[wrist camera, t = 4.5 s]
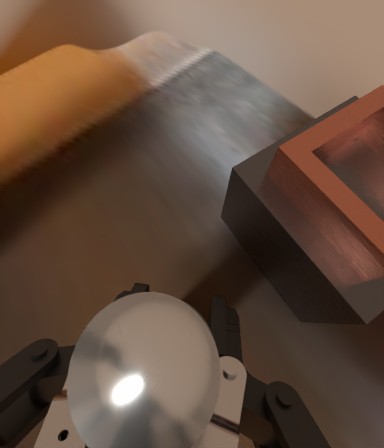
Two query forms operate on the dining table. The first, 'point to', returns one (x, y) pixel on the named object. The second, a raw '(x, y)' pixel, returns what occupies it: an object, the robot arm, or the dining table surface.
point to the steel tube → (144, 375)
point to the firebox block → (318, 213)
